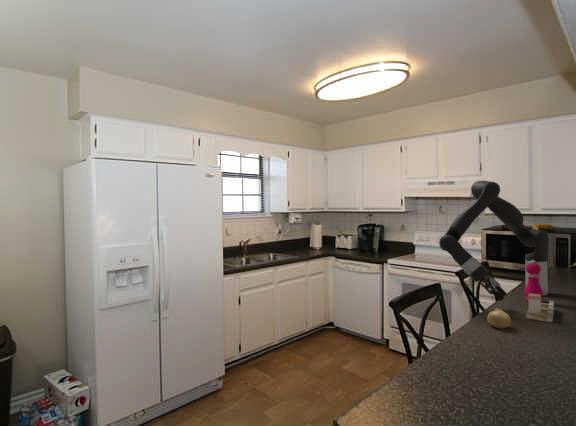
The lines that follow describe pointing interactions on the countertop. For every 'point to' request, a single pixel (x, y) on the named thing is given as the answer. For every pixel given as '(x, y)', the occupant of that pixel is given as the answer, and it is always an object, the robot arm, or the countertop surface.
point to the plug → (534, 303)
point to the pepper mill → (533, 280)
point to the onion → (499, 319)
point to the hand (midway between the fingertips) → (504, 297)
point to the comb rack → (543, 312)
